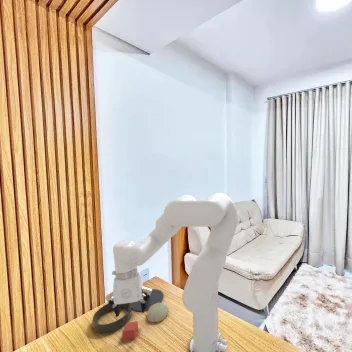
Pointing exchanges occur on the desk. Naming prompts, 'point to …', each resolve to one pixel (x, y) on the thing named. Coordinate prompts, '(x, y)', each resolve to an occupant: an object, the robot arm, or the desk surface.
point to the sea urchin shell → (157, 312)
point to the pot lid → (148, 300)
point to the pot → (114, 325)
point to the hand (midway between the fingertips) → (131, 312)
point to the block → (130, 330)
